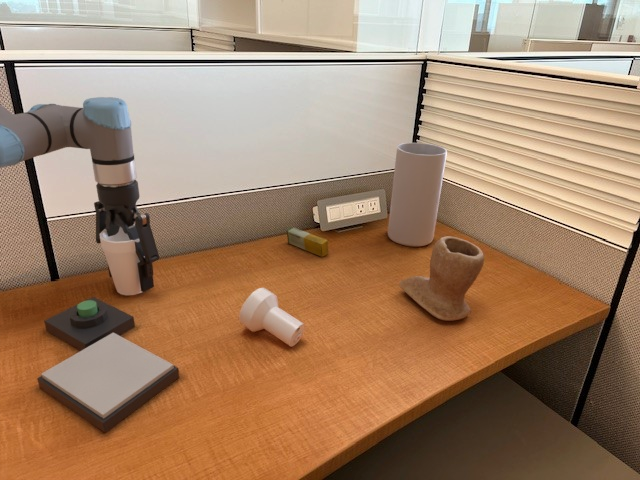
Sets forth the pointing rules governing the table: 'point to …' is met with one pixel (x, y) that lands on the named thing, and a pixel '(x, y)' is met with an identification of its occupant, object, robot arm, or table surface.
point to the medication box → (307, 241)
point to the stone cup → (447, 279)
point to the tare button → (87, 308)
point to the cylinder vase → (416, 193)
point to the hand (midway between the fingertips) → (131, 281)
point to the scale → (108, 380)
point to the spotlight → (270, 317)
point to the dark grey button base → (89, 325)
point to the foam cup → (122, 261)
